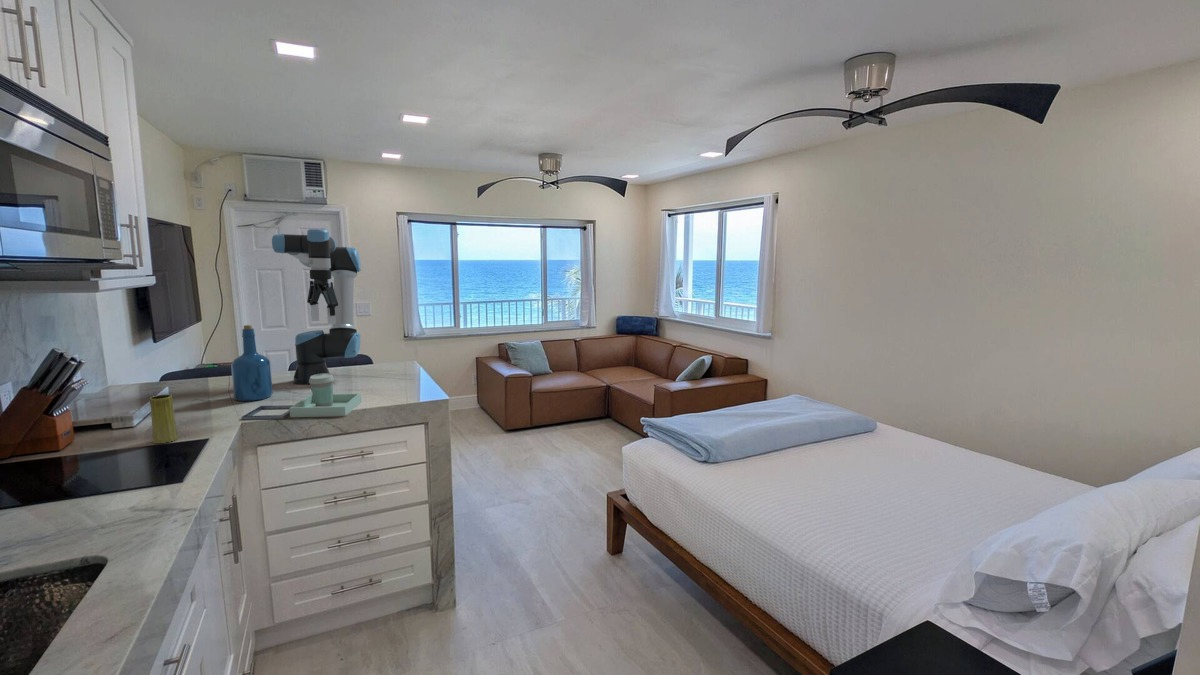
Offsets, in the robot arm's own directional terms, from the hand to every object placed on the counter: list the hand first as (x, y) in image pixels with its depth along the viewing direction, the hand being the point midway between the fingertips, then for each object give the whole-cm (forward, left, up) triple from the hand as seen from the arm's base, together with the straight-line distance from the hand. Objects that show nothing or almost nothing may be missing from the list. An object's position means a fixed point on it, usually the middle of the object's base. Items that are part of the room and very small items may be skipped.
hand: (323, 322), depth 206 cm
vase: (+46, -32, -32) cm, 65 cm away
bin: (+15, +5, -32) cm, 35 cm away
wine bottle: (-4, -30, -32) cm, 44 cm away
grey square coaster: (+19, -13, -32) cm, 39 cm away
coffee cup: (+12, +3, -31) cm, 34 cm away
